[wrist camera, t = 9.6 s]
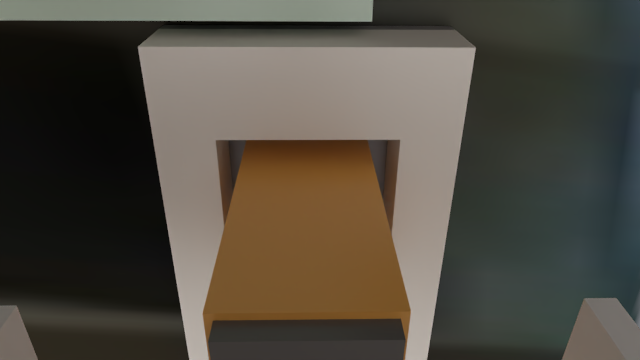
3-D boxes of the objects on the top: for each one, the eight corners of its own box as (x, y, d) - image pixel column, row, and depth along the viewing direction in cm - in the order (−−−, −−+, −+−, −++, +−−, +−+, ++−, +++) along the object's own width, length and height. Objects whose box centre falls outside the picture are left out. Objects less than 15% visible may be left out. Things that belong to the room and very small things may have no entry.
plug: (248, 133, 19) (196, 334, 10) (365, 133, 19) (416, 332, 10) (254, 231, 21) (216, 467, 12) (360, 230, 21) (398, 464, 12)
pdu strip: (163, 24, 17) (137, 46, 15) (450, 26, 18) (475, 47, 15) (219, 430, 28) (210, 485, 25) (398, 427, 28) (407, 481, 26)
